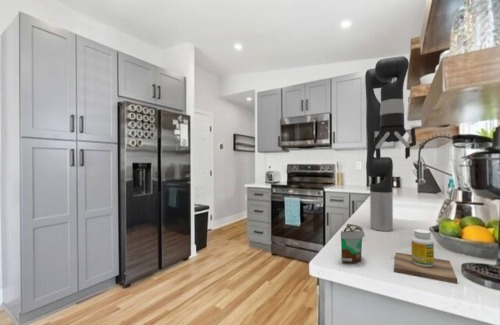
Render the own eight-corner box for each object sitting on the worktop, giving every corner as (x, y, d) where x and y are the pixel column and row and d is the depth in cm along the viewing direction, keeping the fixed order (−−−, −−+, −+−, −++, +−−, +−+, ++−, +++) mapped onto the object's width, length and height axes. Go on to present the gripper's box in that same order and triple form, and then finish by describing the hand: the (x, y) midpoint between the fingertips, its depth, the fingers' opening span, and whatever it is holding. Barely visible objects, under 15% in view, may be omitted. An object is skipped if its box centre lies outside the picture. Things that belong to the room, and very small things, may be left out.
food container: (363, 268, 74) (362, 234, 74) (340, 264, 77) (340, 231, 77) (366, 255, 85) (366, 225, 85) (347, 252, 88) (346, 223, 88)
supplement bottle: (416, 259, 78) (416, 227, 78) (437, 264, 73) (436, 231, 73) (408, 262, 75) (407, 230, 75) (429, 269, 70) (428, 234, 70)
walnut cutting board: (395, 256, 84) (395, 252, 84) (449, 264, 76) (449, 260, 76) (393, 271, 72) (393, 267, 72) (457, 283, 64) (457, 278, 65)
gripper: (415, 113, 91) (415, 158, 91) (371, 117, 98) (371, 159, 98) (415, 109, 84) (416, 158, 84) (368, 114, 92) (369, 159, 92)
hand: (392, 158), depth 91 cm, fingers open, 8 cm apart
